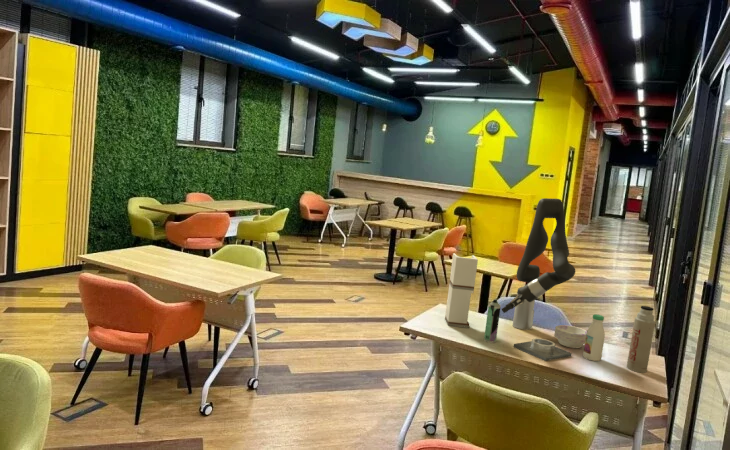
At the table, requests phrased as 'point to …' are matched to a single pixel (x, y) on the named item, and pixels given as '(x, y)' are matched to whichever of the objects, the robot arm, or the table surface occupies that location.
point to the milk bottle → (594, 339)
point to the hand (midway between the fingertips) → (504, 309)
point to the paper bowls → (570, 336)
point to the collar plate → (542, 354)
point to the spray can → (492, 322)
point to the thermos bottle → (641, 340)
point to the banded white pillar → (460, 290)
